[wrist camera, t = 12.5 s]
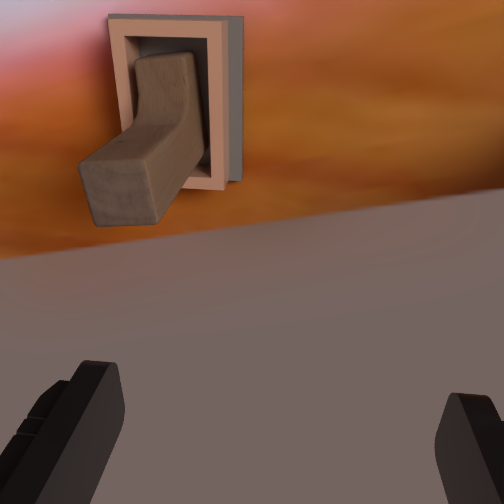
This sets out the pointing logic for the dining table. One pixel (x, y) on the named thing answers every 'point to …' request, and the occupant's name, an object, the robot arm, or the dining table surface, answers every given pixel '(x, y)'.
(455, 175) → the dining table surface
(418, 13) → the dining table surface
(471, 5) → the dining table surface
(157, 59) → the wooden block
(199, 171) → the block holder
